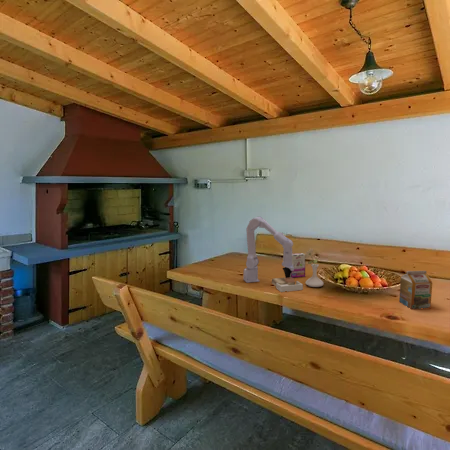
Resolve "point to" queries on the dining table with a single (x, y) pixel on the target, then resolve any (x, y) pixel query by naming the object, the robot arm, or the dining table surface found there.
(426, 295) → the milk carton
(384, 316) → the dining table surface
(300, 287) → the tray
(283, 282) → the birch board
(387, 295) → the dining table surface
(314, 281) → the flower in vase
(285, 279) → the terracotta tile
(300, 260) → the candy bar box
